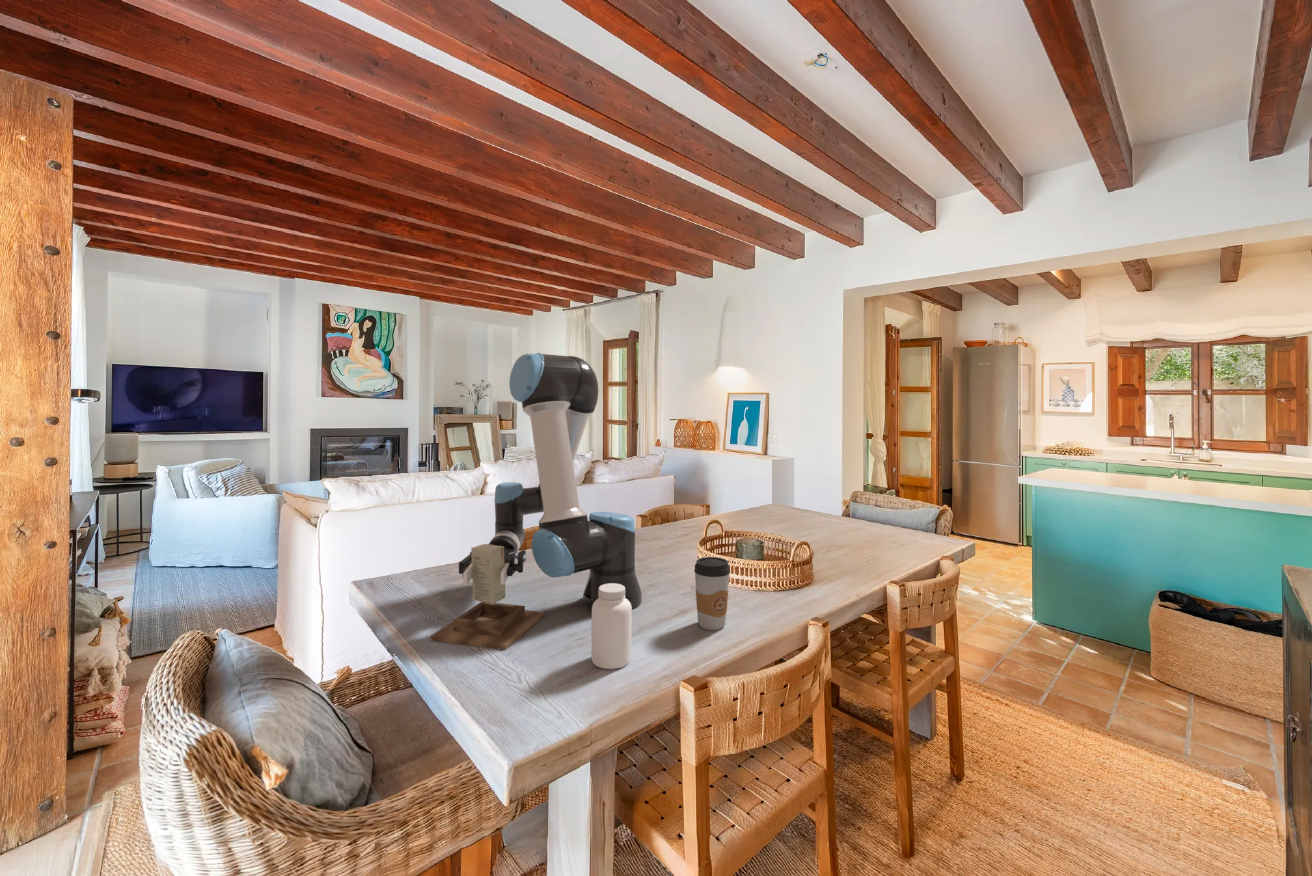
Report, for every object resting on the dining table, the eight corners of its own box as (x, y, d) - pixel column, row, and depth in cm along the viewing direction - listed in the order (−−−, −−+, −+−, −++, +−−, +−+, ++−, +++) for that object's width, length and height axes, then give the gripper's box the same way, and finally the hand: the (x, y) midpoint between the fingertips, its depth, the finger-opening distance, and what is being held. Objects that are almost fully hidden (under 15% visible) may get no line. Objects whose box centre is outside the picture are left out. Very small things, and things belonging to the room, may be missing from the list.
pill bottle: (626, 672, 101) (625, 595, 100) (586, 668, 103) (585, 592, 102) (635, 653, 109) (635, 582, 108) (598, 649, 111) (598, 579, 110)
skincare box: (506, 598, 122) (505, 546, 121) (493, 604, 118) (492, 551, 117) (484, 593, 125) (484, 542, 124) (471, 599, 121) (470, 547, 120)
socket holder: (544, 616, 128) (543, 602, 128) (505, 649, 111) (505, 633, 111) (477, 609, 133) (477, 595, 132) (430, 640, 115) (430, 624, 115)
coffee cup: (706, 635, 118) (706, 569, 117) (687, 621, 125) (687, 559, 124) (737, 628, 122) (737, 563, 121) (716, 615, 129) (717, 554, 128)
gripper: (542, 562, 140) (530, 594, 118) (463, 563, 138) (436, 596, 115) (541, 534, 140) (530, 561, 117) (463, 535, 138) (435, 562, 115)
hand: (483, 578), depth 116 cm, fingers closed on skincare box, 7 cm apart
